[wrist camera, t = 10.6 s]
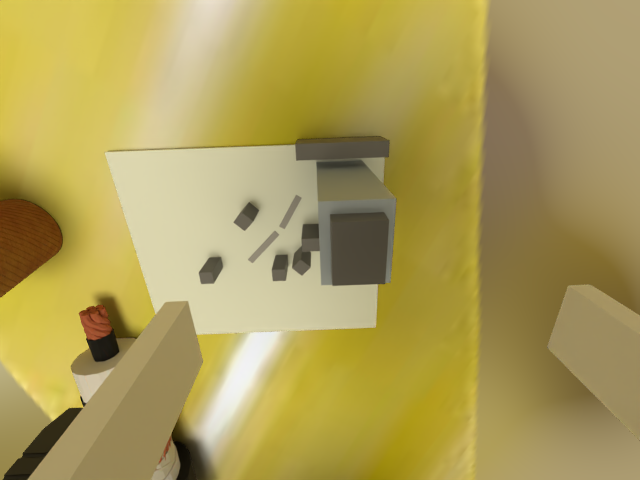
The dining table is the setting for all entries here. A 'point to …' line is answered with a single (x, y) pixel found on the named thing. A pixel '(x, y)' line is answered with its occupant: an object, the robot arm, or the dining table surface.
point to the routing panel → (241, 233)
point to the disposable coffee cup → (24, 241)
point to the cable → (94, 367)
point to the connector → (354, 224)
